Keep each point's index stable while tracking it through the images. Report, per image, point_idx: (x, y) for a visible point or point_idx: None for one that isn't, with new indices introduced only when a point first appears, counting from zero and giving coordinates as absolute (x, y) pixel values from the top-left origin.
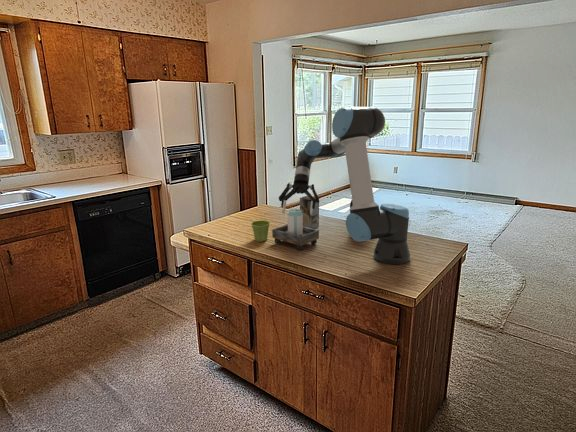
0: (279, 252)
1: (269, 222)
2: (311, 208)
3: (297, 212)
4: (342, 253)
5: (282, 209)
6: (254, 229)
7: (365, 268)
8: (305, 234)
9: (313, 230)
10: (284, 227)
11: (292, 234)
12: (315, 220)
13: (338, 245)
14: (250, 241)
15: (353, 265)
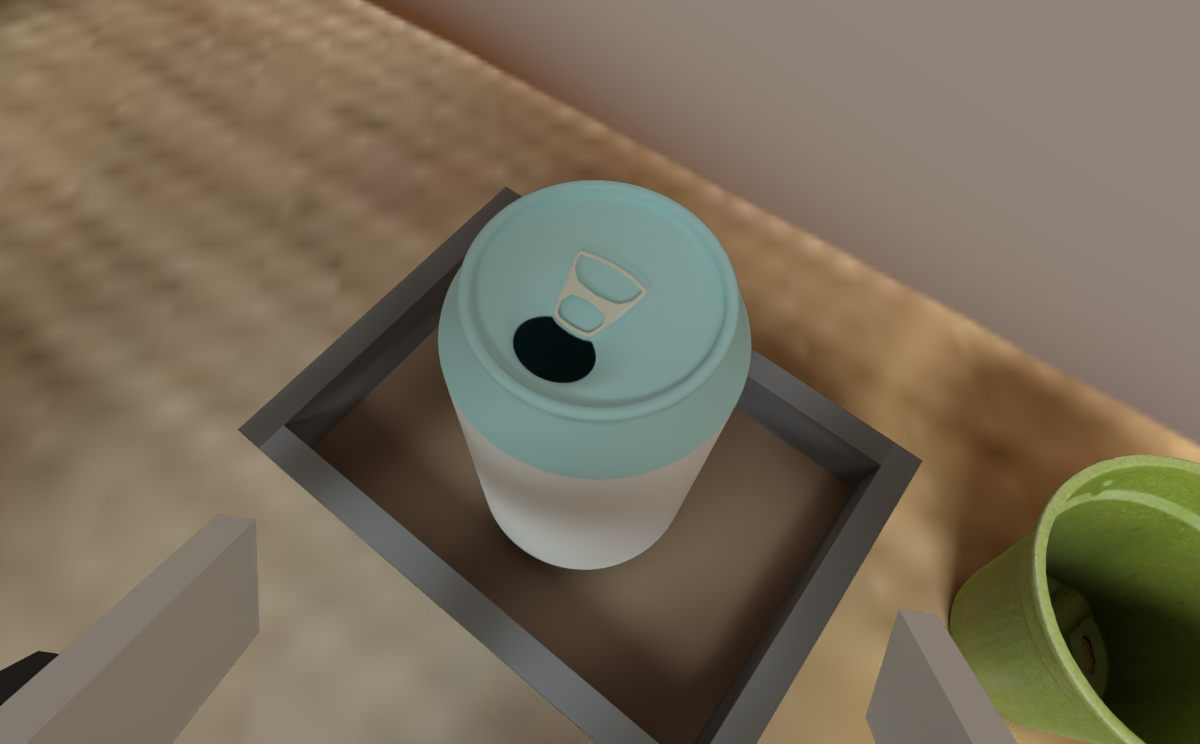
0: None
1: (1070, 660)
2: (149, 585)
3: (543, 190)
4: (126, 263)
5: (959, 652)
6: (1190, 530)
7: (60, 28)
8: (446, 490)
9: (317, 456)
10: (772, 636)
11: None
12: None
13: (84, 465)
14: None
15: (128, 66)
